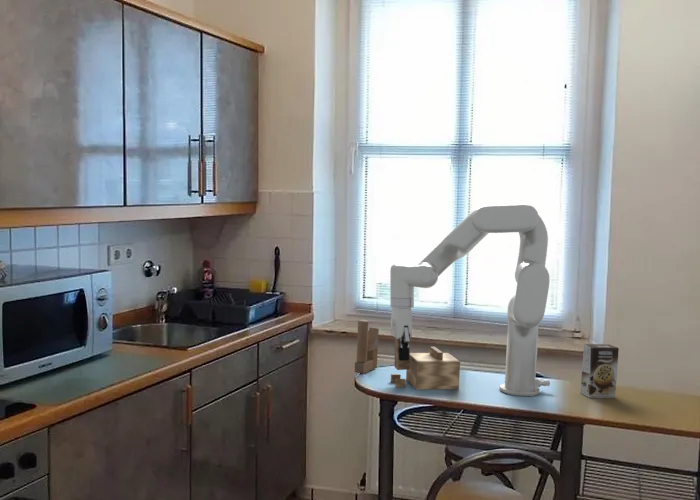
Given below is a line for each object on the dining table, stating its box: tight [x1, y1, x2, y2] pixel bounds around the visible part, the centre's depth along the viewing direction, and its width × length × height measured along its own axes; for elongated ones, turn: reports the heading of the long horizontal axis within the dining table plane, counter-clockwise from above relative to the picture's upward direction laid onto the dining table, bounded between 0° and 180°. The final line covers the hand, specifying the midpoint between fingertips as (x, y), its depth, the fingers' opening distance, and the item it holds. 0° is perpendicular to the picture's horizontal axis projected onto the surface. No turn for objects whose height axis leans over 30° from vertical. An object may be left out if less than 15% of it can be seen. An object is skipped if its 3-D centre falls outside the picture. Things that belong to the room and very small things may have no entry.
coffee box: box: [580, 343, 620, 399], centre depth 242 cm, size 9×6×16 cm
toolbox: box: [390, 358, 461, 390], centre depth 249 cm, size 20×13×9 cm, turn 101°
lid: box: [410, 346, 460, 363], centre depth 249 cm, size 14×11×3 cm
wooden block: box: [354, 319, 380, 374], centre depth 265 cm, size 4×11×18 cm, turn 152°
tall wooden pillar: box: [394, 332, 411, 371], centre depth 247 cm, size 4×4×12 cm
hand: (402, 358), depth 247 cm, fingers closed on tall wooden pillar, 4 cm apart
